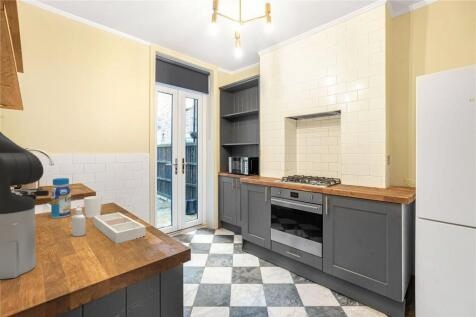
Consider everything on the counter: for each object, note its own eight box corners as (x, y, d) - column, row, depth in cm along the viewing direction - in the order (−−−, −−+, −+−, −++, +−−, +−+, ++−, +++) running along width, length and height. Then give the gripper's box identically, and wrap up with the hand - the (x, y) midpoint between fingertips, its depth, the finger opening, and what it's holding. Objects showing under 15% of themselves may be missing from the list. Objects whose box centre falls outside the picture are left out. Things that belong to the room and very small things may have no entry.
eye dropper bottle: (84, 231, 96) (84, 203, 95) (86, 235, 91) (85, 206, 91) (71, 234, 93) (71, 205, 92) (72, 238, 88) (72, 207, 88)
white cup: (81, 218, 115) (81, 199, 115) (87, 214, 122) (87, 196, 122) (98, 217, 117) (98, 198, 117) (103, 213, 125) (103, 195, 124)
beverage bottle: (53, 215, 121) (52, 178, 121) (72, 213, 125) (72, 177, 125) (48, 219, 114) (48, 179, 113) (69, 217, 117) (69, 179, 117)
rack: (145, 236, 91) (145, 226, 91) (116, 243, 83) (116, 233, 83) (119, 220, 112) (118, 212, 112) (93, 225, 105) (93, 216, 104)
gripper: (-26, 189, 77) (31, 188, 81) (4, 183, 91) (52, 183, 95) (-26, 211, 77) (31, 208, 82) (4, 202, 91) (52, 200, 95)
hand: (42, 195), depth 88 cm, fingers open, 8 cm apart
